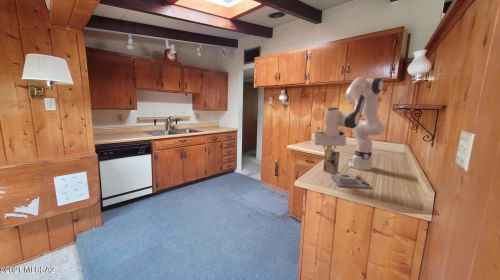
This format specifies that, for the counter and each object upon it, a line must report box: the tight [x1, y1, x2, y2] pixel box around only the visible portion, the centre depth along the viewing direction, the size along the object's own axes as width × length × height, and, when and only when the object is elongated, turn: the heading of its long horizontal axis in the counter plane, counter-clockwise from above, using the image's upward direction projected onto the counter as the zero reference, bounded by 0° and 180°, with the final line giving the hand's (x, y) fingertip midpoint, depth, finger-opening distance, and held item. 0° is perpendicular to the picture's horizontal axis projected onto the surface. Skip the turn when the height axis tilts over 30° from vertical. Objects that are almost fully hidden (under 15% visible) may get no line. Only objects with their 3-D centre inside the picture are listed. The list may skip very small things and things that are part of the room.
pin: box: [326, 146, 333, 160], centre depth 143 cm, size 3×3×12 cm
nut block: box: [330, 172, 373, 190], centre depth 140 cm, size 18×20×4 cm
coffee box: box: [323, 150, 340, 175], centre depth 160 cm, size 9×6×16 cm
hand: (329, 151), depth 143 cm, fingers closed on pin, 3 cm apart
